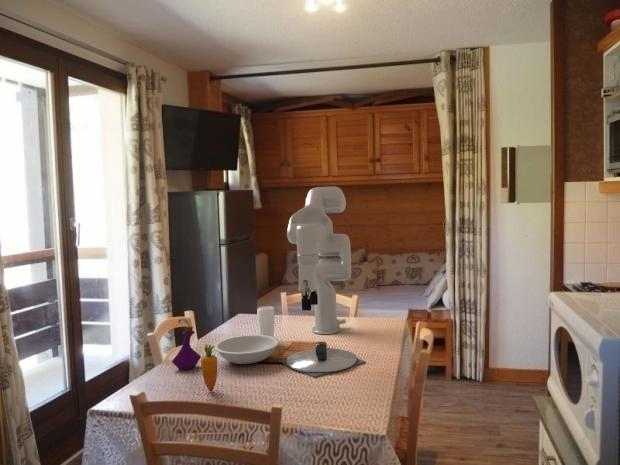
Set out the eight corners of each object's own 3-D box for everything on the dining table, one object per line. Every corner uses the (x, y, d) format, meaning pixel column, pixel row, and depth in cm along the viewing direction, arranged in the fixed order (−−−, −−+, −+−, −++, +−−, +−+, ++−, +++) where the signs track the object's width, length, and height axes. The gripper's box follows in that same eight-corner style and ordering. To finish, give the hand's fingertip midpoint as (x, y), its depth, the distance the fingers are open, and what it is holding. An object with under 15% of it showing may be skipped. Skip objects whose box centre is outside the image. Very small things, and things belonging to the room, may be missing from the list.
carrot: (203, 389, 161) (200, 342, 160) (219, 388, 161) (217, 341, 160) (201, 395, 156) (198, 346, 155) (218, 393, 156) (215, 345, 155)
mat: (327, 349, 197) (327, 347, 197) (365, 363, 179) (365, 361, 179) (279, 361, 184) (278, 360, 184) (314, 377, 166) (314, 376, 166)
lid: (328, 346, 199) (327, 330, 198) (371, 361, 178) (370, 343, 178) (273, 360, 185) (272, 343, 184) (313, 378, 164) (312, 359, 164)
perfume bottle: (201, 365, 184) (198, 316, 183) (190, 372, 177) (187, 321, 176) (184, 363, 187) (181, 315, 186) (172, 370, 180) (168, 320, 179)
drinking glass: (276, 342, 210) (275, 306, 209) (274, 347, 203) (272, 309, 202) (260, 342, 211) (258, 306, 210) (257, 347, 204) (255, 310, 203)
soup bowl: (252, 376, 171) (251, 357, 170) (200, 366, 183) (199, 348, 183) (293, 355, 191) (292, 338, 190) (243, 348, 204) (242, 331, 203)
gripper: (304, 256, 190) (306, 302, 191) (291, 262, 173) (293, 312, 174) (323, 256, 188) (325, 302, 189) (312, 262, 171) (314, 312, 172)
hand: (310, 307), depth 181 cm, fingers open, 9 cm apart
